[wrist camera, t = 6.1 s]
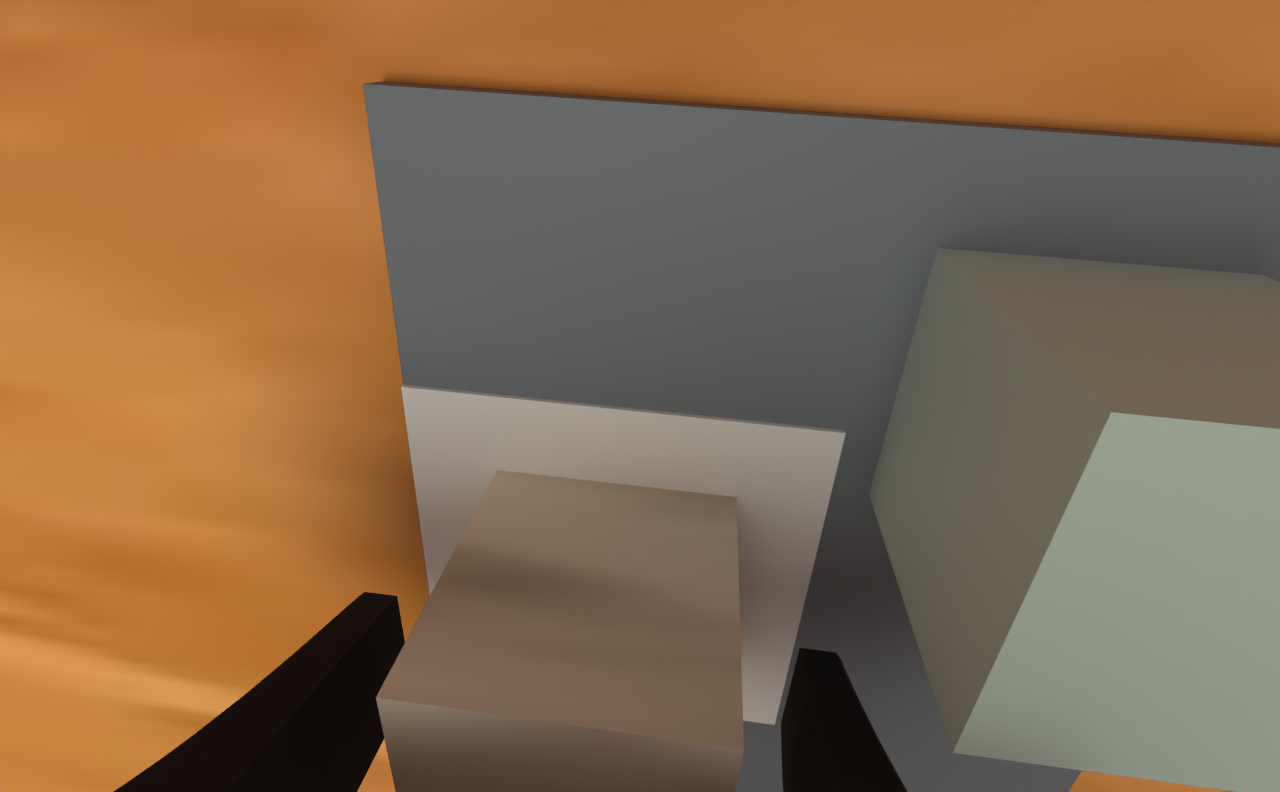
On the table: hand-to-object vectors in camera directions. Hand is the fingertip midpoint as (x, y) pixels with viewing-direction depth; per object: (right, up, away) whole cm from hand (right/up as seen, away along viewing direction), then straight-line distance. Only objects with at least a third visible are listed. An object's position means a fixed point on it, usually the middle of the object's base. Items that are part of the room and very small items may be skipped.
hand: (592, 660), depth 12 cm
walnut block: (0, +1, +2) cm, 2 cm away
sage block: (+7, +5, -1) cm, 9 cm away
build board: (+4, +1, +2) cm, 4 cm away
